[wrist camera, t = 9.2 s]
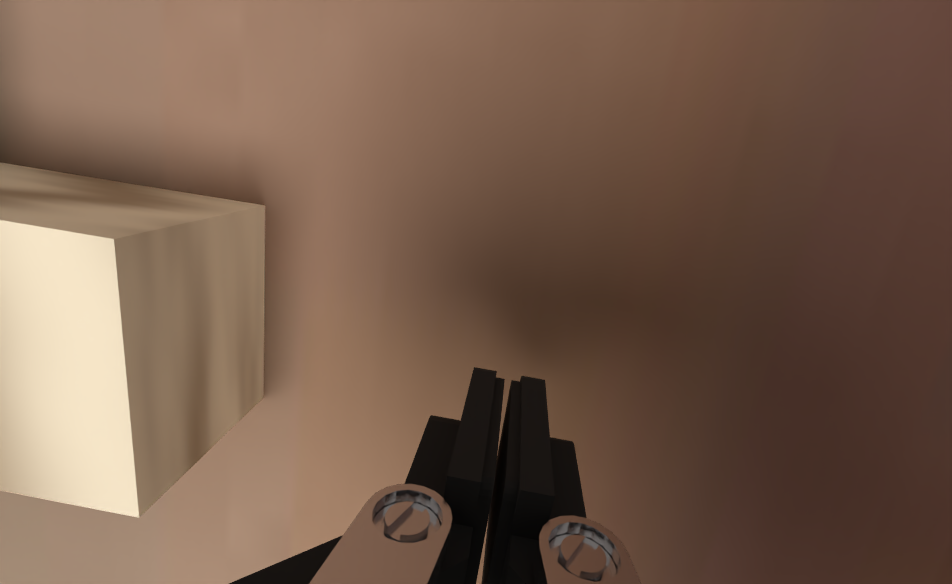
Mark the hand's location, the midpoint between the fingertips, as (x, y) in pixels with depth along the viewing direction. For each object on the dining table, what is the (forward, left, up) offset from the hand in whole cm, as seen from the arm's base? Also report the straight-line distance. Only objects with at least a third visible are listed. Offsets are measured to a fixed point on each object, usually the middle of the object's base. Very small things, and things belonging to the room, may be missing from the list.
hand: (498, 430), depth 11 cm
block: (+13, 0, -5) cm, 14 cm away
